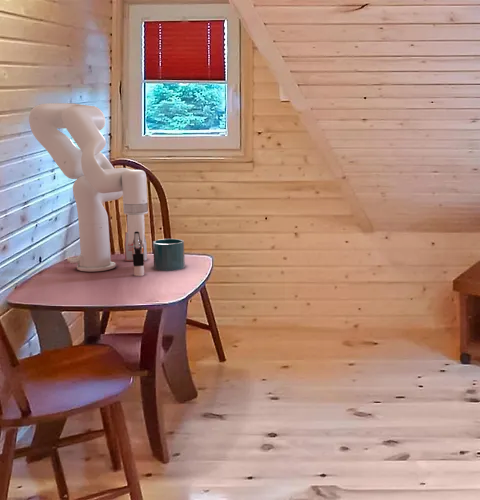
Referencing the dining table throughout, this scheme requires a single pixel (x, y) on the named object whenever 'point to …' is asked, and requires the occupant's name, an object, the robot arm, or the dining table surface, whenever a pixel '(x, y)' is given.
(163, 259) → the mug
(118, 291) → the dining table surface
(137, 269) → the glue stick
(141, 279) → the dining table surface
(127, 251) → the white printed carton
